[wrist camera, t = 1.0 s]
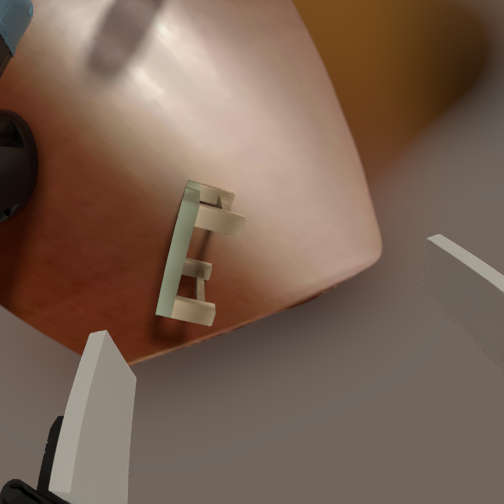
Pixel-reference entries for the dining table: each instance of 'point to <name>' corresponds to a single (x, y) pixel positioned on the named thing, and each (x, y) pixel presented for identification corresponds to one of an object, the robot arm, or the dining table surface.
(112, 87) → the dining table surface
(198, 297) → the footstool
